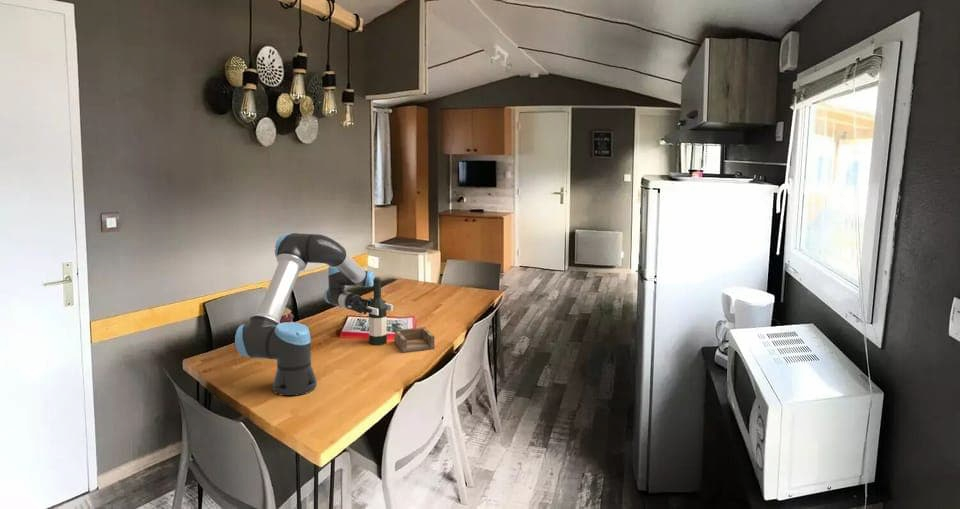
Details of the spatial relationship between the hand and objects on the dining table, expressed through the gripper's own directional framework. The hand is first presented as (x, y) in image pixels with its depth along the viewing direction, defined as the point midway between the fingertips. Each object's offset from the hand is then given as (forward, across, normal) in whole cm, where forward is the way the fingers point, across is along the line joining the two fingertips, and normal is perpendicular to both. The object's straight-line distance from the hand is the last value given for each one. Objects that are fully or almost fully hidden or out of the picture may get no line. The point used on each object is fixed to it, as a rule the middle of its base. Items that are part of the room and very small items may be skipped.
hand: (385, 310), depth 245 cm
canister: (-38, +28, -16) cm, 50 cm away
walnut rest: (+11, -7, -16) cm, 21 cm away
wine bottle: (-5, 0, -16) cm, 17 cm away
